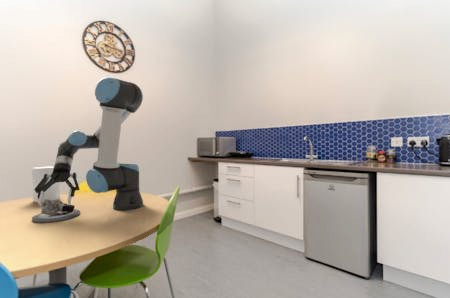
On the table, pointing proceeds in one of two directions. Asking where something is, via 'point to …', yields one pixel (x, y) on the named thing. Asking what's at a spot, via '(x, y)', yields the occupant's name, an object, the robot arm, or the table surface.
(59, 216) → the carrier plate
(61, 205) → the caster wheel
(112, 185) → the robot arm
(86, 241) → the table surface
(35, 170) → the canister
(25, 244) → the table surface
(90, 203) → the table surface
